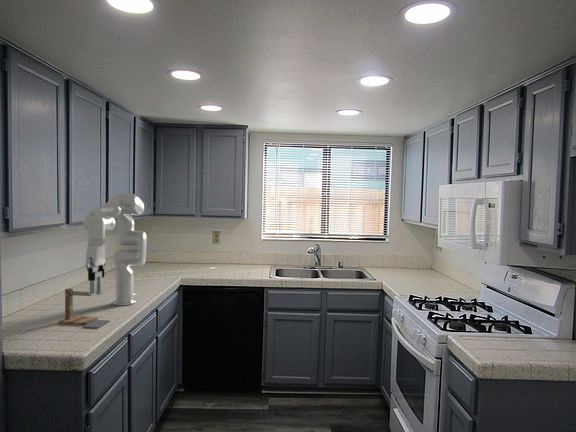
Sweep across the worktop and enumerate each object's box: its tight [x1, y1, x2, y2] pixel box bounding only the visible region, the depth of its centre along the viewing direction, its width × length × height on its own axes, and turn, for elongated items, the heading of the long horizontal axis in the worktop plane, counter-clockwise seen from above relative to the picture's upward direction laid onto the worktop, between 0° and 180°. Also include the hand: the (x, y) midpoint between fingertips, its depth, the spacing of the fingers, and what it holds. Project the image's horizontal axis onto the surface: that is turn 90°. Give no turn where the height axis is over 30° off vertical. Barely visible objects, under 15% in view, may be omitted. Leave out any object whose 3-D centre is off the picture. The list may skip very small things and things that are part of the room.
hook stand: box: [58, 288, 99, 326], centre depth 208 cm, size 14×10×16 cm
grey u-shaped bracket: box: [89, 270, 104, 295], centre depth 203 cm, size 8×2×11 cm, turn 175°
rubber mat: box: [82, 319, 110, 329], centre depth 204 cm, size 11×8×1 cm
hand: (96, 278), depth 203 cm, fingers closed on grey u-shaped bracket, 7 cm apart
